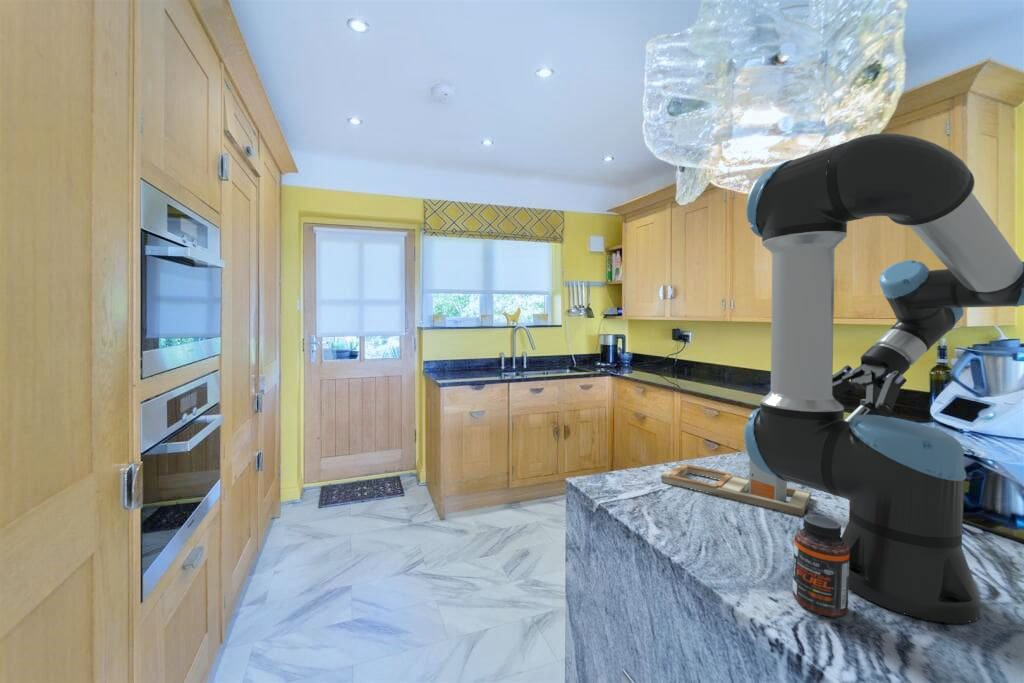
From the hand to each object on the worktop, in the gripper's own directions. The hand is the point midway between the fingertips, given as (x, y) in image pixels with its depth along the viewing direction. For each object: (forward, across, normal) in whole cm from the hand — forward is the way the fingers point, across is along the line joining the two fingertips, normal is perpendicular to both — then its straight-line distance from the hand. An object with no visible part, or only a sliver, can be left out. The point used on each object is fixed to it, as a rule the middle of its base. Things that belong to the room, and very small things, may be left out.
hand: (818, 425), depth 91 cm
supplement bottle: (+29, -36, +6) cm, 46 cm away
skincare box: (+19, 0, -4) cm, 19 cm away
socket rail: (+22, +5, 0) cm, 23 cm away
